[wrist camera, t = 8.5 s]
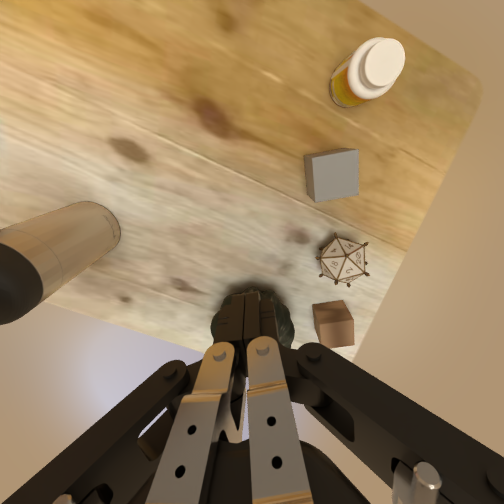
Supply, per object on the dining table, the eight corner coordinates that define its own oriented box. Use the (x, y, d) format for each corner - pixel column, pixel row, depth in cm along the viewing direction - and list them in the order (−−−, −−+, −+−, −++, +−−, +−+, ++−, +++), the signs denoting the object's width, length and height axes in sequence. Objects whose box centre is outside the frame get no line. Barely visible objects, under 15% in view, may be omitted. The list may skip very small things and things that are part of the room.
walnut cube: (314, 327, 51) (321, 349, 46) (312, 304, 49) (319, 324, 44) (343, 323, 51) (354, 345, 45) (342, 299, 48) (353, 319, 43)
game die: (323, 235, 47) (328, 218, 37) (369, 249, 45) (387, 235, 35) (307, 279, 46) (309, 273, 36) (354, 296, 44) (368, 294, 34)
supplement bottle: (354, 115, 35) (391, 105, 26) (321, 97, 34) (346, 80, 25) (377, 71, 33) (425, 44, 24) (342, 51, 32) (378, 15, 23)
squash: (230, 372, 49) (277, 410, 37) (184, 320, 45) (220, 342, 32) (273, 320, 56) (326, 338, 43) (237, 270, 51) (285, 273, 38)
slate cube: (307, 194, 40) (315, 202, 35) (303, 155, 38) (312, 157, 32) (344, 187, 40) (358, 195, 34) (343, 148, 37) (358, 149, 32)
